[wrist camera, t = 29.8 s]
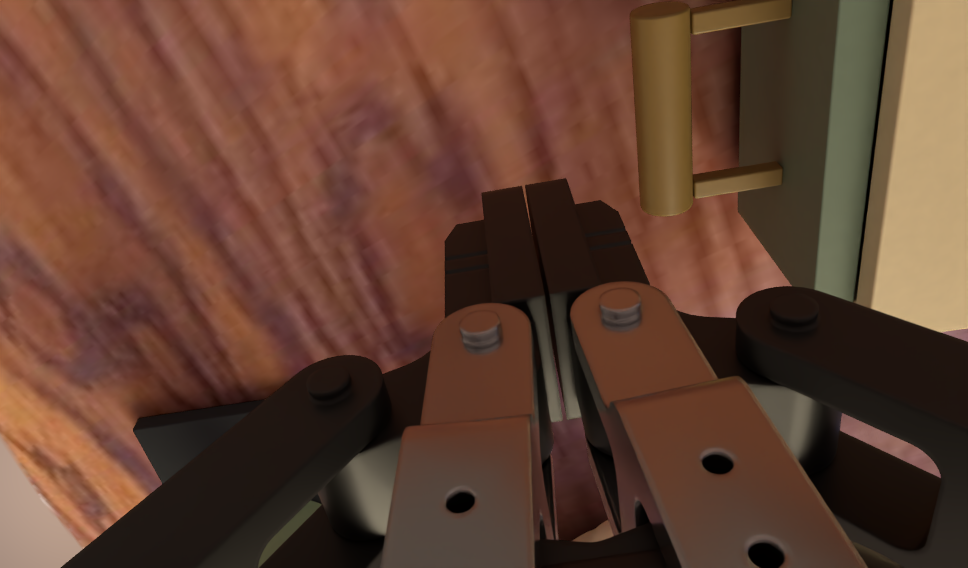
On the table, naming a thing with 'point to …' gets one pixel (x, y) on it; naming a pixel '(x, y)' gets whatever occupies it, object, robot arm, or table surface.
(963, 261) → the cabinet
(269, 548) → the soap bottle
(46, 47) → the table surface
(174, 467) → the drying mat
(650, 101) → the drawer
